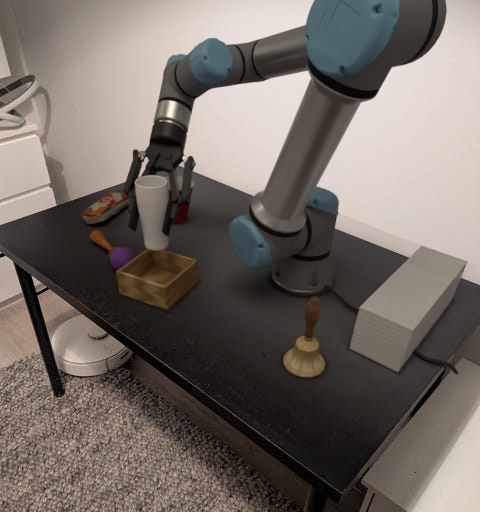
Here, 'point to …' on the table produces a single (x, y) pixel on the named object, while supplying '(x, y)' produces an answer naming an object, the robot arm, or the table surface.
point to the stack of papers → (406, 307)
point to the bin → (158, 277)
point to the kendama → (113, 251)
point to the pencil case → (106, 207)
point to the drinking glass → (152, 209)
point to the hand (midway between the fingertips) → (148, 231)
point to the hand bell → (306, 347)
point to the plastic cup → (183, 208)
